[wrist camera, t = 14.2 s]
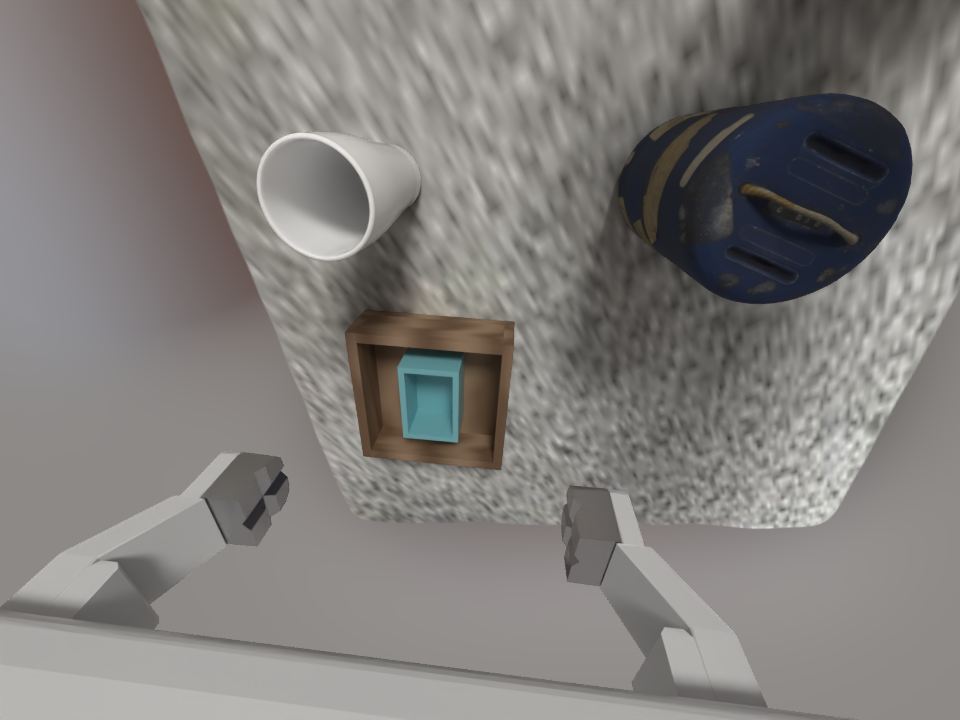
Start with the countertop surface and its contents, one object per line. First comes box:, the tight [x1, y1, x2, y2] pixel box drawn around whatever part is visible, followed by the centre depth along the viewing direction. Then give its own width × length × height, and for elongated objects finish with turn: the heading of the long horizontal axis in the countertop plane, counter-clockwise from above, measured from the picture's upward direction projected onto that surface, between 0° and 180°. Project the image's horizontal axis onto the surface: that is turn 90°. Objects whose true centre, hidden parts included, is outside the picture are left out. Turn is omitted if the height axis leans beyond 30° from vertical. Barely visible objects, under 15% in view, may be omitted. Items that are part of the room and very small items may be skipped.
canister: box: [619, 93, 912, 304], centre depth 24 cm, size 10×10×18 cm
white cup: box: [257, 131, 421, 261], centre depth 27 cm, size 7×7×15 cm
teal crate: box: [397, 347, 465, 443], centre depth 41 cm, size 6×9×5 cm, turn 178°
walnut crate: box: [345, 310, 514, 470], centre depth 42 cm, size 16×16×6 cm
